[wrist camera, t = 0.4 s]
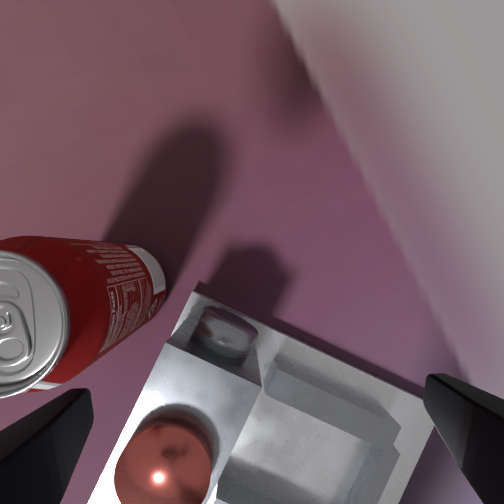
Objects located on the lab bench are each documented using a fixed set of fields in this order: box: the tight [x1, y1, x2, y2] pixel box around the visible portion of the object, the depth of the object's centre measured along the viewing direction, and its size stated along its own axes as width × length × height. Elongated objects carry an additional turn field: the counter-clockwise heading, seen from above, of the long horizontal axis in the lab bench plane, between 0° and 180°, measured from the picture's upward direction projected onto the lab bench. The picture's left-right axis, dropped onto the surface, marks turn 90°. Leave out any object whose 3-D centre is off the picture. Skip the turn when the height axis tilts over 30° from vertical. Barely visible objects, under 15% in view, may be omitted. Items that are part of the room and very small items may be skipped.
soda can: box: [0, 236, 167, 399], centre depth 16 cm, size 7×7×12 cm
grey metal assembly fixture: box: [88, 290, 434, 504], centre depth 19 cm, size 16×22×8 cm
